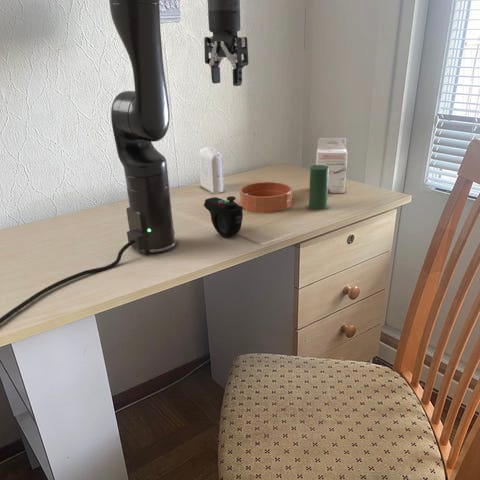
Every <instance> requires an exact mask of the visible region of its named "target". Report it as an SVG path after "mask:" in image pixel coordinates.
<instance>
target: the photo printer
mask: <svg viewBox="0 0 480 480" xmlns="http://www.w3.org/2000/svg"><path fill="white" fill-rule="evenodd" d="M198 162H199V178H200V185H201V187H203V189H205V190H207V191H209V192H210V193H212V194H217V193H218V194H219V193H222V192H224V191H225V179H224V159H223V156H222V155H221V152H219V151H218V150H217V149H216V148H214V147H211V146H204V147H202V148H200V150H199V152H198Z"/></svg>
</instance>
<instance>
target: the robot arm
mask: <svg viewBox="0 0 480 480" xmlns="http://www.w3.org/2000/svg"><path fill="white" fill-rule="evenodd" d="M108 2H109V10H110V15H111V19H112V22H113V25H114V28H115V30H116V32H117V35H118V37H119V38H120V41H121V43H122V44H123V46H124V49H125V51H126V53H127V56H128V59H129V61H130V64H131V68H132V73H133V84H134V90H125V91H122V92H119V93H118V94H117V95H116V96H115V97H114V99H113V101H112V104H111V109H110V121H111V127H112V132H113V137H114V143H115V147H116V153H117V157H118V159H119V162H120V164H121V165H122V167H123V172H124V176H125V177H124V178H125V184H126V185H125V186H126V193H127V198H128V205H129V206H128V207H126V209H125V210H126V216H127V217H126V218H127V223H128V229H129V230H128V231H126V236H127V241H128V242H127V243H126V244H124V246H122V248H121V249H120V250H119V251H118V253H117V256H116V259H115V260H114V261H113V262H112V263H110V264H107V265H105V266H101V267H96V268H90V269H85V270H83V271H81V272H78V273H75V274H73V275H70V276H68V277H65V278H62V279H61V280H58V281H56V282H54V283H52V284H51V285H48V286H47V287H44V288H43V289H41V290H40V291H38V292H35V294H33V295H31V296H30V297H29V298H27V299H25V300H24V301H22V302H21V303H20V304H18V305H17V306H15V307H13V308H12V309H11V310H9V311H8V312H7V313H5V314H4V315H2V316H1V317H0V324H2V323H4V322H5V321H6V320H8V319H9V318H10V317H11V316H13V315H14V314H15V313H17V312H18V311H21V310H22V309H23V308H25V307H26V306H28V305H29V304H30V303H32V302H33V301H35V300H36V299H38V298H39V297H41V296H43V295H44V294H46V293H48V292H49V291H51V290H54V289H55V288H57V287H60V286H61V285H63V284H66V283H68V282H71V281H73V280H75V279H78V278H81V277H82V276H83V277H84V276H85V275H86V276H87V275H89V274H95V273H99V272H104V271H107V270H110V269H112V268H114V267H116V266H117V265H118V264H119V263H120V261H121V260H122V256H123V255H124V252H125V251H126V250H127V249H128V248H129V247H131V248H133V249H134V250H137V252H140V253H141V254H143V255H149V254H158V253H163V252H168V251H169V250H172V249H173V248H174V247H175V246H176V245H177V244H176V243H177V242H176V238H175V228H174V220H173V219H174V218H173V210H172V200H171V191H170V190H171V189H170V180H169V171H168V170H169V169H168V163H167V159H166V157H165V156H164V155H163V154H162V153H161V152H159V150H158V149H157V148H156V147H155V145H153V143H154V142H159V141H161V140H163V138H164V137H165V136H166V135H167V133H168V131H169V126H170V121H171V120H170V118H171V116H170V114H171V113H170V112H171V111H170V103H169V96H168V90H167V89H168V87H167V82H166V75H165V67H164V58H163V57H164V56H163V45H162V43H163V42H162V31H161V11H160V10H161V6H160V0H108ZM207 18H208V31H209V32H210V33H212V36H205V37H204V39H203V44H204V63H205V65H206V64H207V65H208V66H209V67H210V76H211V77H210V78H211V83H212V84H221V67H220V65H221V62H222V60H224V58H226V59H227V60H228V61H229V62H230V64H231V66H232V68H233V69H232V85H233V87H239V86H242V85H243V68H244V67H246V66H248V65H249V48H248V47H249V46H248V37H247V36H238V33H239V32H240V31H241V0H207Z"/></svg>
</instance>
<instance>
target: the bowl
mask: <svg viewBox="0 0 480 480" xmlns="http://www.w3.org/2000/svg"><path fill="white" fill-rule="evenodd" d="M292 205H293V188H292V186H290V185H288V184H286V183H283V182H276V181H258V182H252V183H248V184H245V185H243V186H241V187H240V188H239V206H242V207H243V210H245V211H248V212H252V213H253V212H254V213H264V214H265V213H276V212H282V211H284V210H287V209H289V208H291V207H292Z"/></svg>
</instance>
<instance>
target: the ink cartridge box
mask: <svg viewBox="0 0 480 480" xmlns="http://www.w3.org/2000/svg"><path fill="white" fill-rule="evenodd" d="M331 142H333V143H335V144H333V143H331ZM315 165H325V166H328V167H329V175H328V194H345V189H346V176H347V165H348V150H347V138H346V137H319V138H318V139H317V149H316V161H315Z"/></svg>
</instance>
